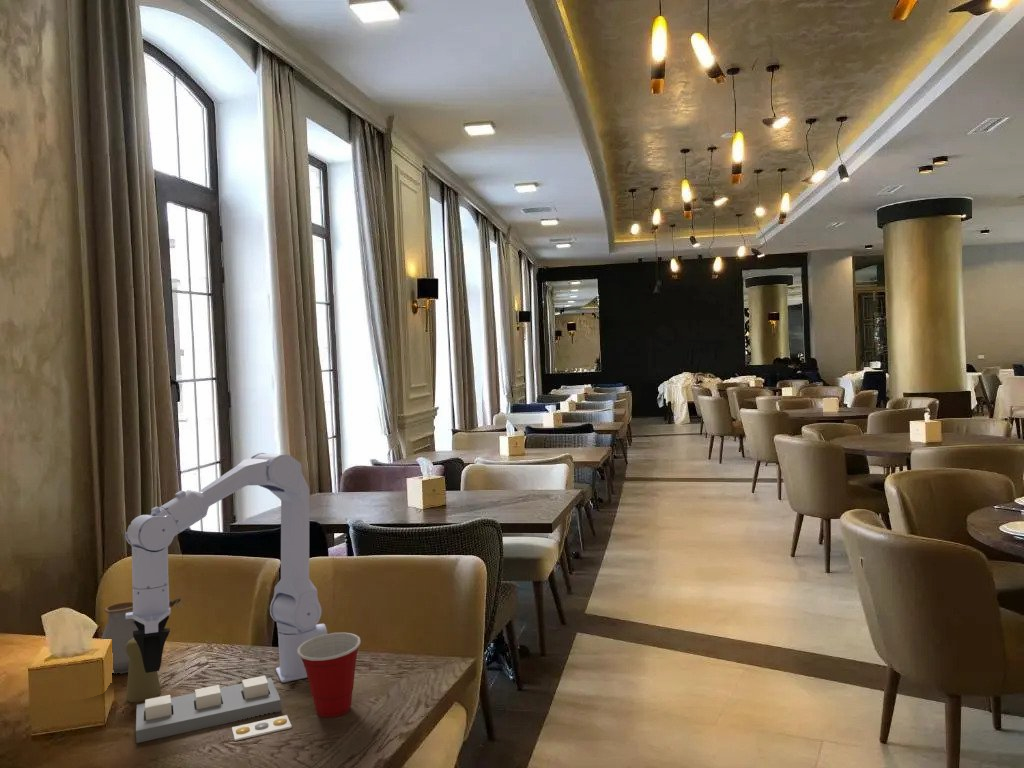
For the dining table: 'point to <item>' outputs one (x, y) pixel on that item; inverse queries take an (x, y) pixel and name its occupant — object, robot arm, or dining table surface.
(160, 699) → the button
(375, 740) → the dining table surface
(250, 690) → the button
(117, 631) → the coffee pot
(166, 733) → the button board
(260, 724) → the card
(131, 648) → the olive pepper shaker
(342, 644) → the plastic cup
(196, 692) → the button middle
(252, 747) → the dining table surface
